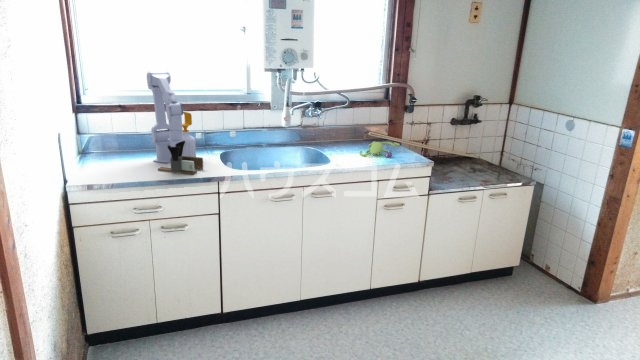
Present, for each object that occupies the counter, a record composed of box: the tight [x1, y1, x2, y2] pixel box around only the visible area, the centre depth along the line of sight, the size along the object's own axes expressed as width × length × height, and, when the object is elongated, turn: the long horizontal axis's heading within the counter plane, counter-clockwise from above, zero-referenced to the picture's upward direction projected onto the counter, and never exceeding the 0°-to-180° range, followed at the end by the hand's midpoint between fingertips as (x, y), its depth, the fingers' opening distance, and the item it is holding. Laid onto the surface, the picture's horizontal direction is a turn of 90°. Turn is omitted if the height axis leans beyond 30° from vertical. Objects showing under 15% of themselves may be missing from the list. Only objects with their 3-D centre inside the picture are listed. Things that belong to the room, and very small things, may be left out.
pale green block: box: [181, 160, 195, 171], centre depth 212 cm, size 2×6×4 cm, turn 76°
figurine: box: [359, 140, 401, 159], centre depth 262 cm, size 18×27×6 cm
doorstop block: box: [170, 156, 183, 171], centre depth 213 cm, size 4×4×6 cm
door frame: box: [157, 156, 204, 176], centre depth 217 cm, size 10×18×6 cm, turn 76°
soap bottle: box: [182, 111, 197, 157], centre depth 233 cm, size 9×9×25 cm
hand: (177, 158), depth 212 cm, fingers open, 7 cm apart
